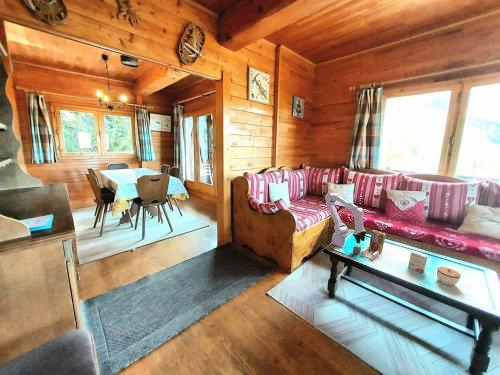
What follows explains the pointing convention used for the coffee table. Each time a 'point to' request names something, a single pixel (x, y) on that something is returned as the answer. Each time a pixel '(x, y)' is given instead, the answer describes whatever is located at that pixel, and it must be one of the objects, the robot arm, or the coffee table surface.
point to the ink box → (417, 261)
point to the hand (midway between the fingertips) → (360, 242)
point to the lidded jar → (448, 276)
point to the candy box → (377, 241)
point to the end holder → (370, 254)
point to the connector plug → (356, 250)
